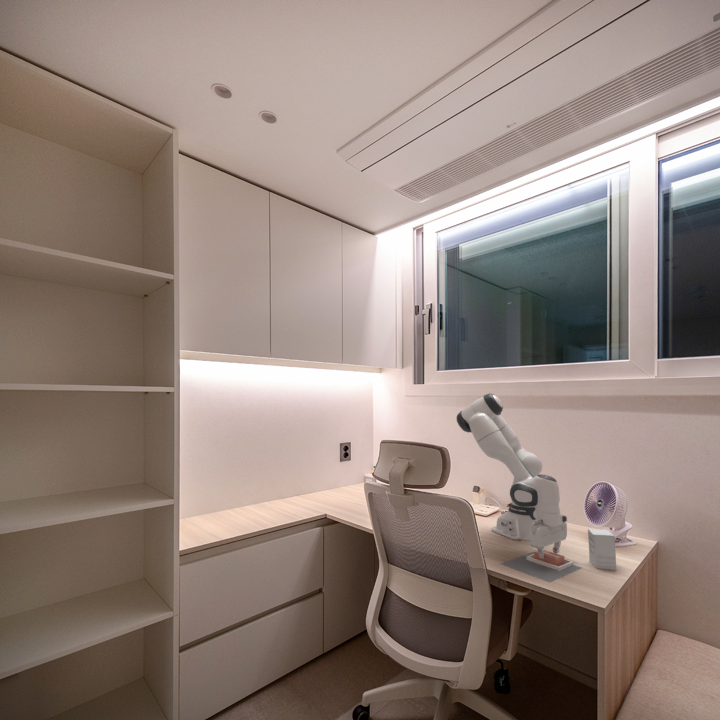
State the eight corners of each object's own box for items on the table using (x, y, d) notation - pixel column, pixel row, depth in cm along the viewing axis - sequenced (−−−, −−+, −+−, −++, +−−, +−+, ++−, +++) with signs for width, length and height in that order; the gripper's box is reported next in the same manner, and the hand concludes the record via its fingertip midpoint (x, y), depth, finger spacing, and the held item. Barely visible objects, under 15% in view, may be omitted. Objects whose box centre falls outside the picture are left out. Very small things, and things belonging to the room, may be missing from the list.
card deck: (564, 564, 160) (564, 556, 160) (556, 567, 157) (556, 559, 157) (542, 557, 167) (542, 549, 168) (534, 560, 164) (534, 552, 164)
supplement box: (609, 563, 162) (608, 529, 163) (617, 571, 155) (615, 535, 156) (588, 561, 164) (587, 528, 165) (594, 569, 157) (593, 534, 158)
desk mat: (500, 564, 160) (499, 563, 160) (533, 553, 173) (533, 552, 173) (549, 583, 144) (549, 582, 144) (582, 568, 157) (582, 567, 157)
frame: (526, 559, 165) (526, 556, 165) (540, 554, 170) (540, 551, 170) (559, 570, 154) (559, 567, 154) (573, 565, 159) (573, 561, 160)
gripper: (540, 524, 155) (541, 563, 154) (569, 516, 167) (571, 552, 165) (524, 520, 160) (526, 558, 159) (554, 512, 172) (555, 547, 171)
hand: (549, 555), depth 162 cm, fingers open, 8 cm apart
